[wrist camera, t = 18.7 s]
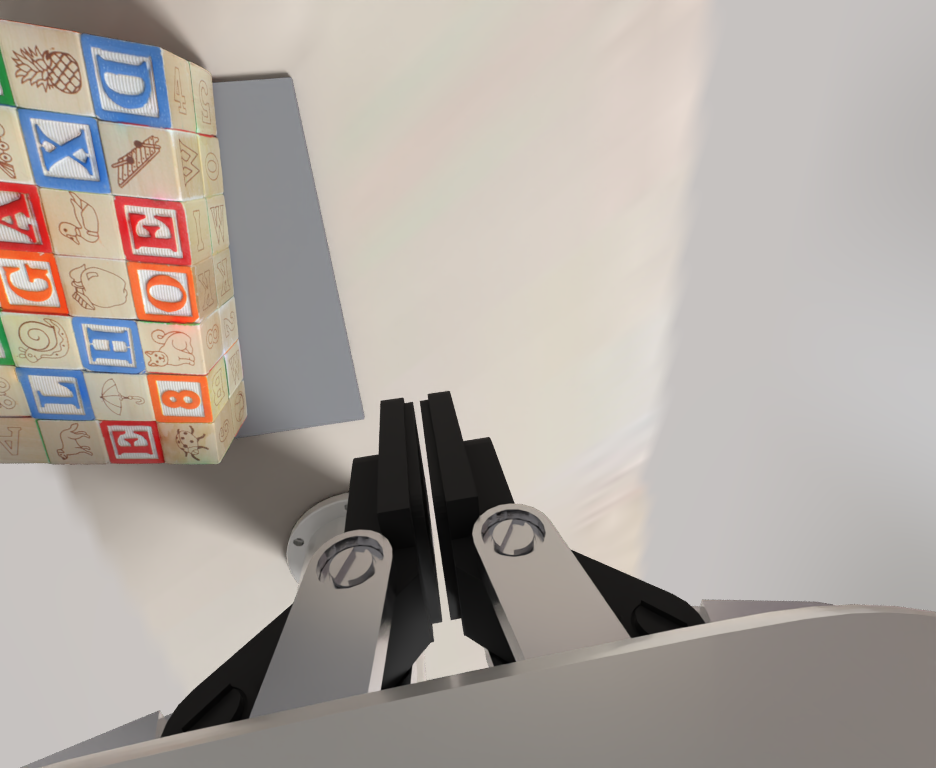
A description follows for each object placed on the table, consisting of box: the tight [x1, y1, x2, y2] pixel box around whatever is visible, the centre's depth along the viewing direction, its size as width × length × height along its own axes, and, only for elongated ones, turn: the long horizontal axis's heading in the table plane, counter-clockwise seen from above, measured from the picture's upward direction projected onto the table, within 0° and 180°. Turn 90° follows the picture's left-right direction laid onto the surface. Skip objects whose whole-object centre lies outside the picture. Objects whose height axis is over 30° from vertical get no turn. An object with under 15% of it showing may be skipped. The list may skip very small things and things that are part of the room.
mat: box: [212, 77, 365, 439], centre depth 29 cm, size 22×16×1 cm
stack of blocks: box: [0, 19, 247, 465], centre depth 25 cm, size 21×6×12 cm
